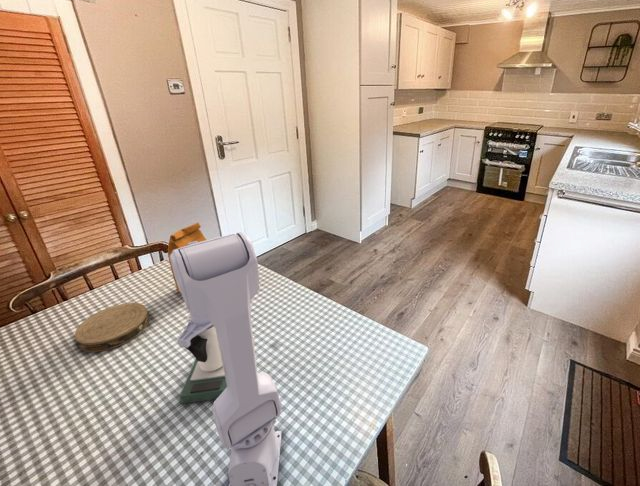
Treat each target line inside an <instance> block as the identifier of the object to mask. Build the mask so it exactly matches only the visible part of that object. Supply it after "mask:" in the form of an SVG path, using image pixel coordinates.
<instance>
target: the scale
mask: <svg viewBox="0 0 640 486" xmlns="http://www.w3.org/2000/svg"><path fill="white" fill-rule="evenodd" d="M226 387H227V383H226V378H225V373H224V368H223V366H222V367H221V368H219V369H218V370H215V371H211V372H207V371H203V370H202V369H201V368H200V366H199V362H198V361H197V360H196V359H195V360H194V362H193V365H192V367H191V369H190V372H189V374H188V375H187V379H186V380H185V383H184V385H183V388H182V390H181V392H180V395H179V399H180V403H181V404H182V405H183V404H188V403H196V402H203V401H210V400H216V399H217V398H218V397H219V396H220V394H221V393H222V392H223V391H224V390H225V389H226Z"/></svg>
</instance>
